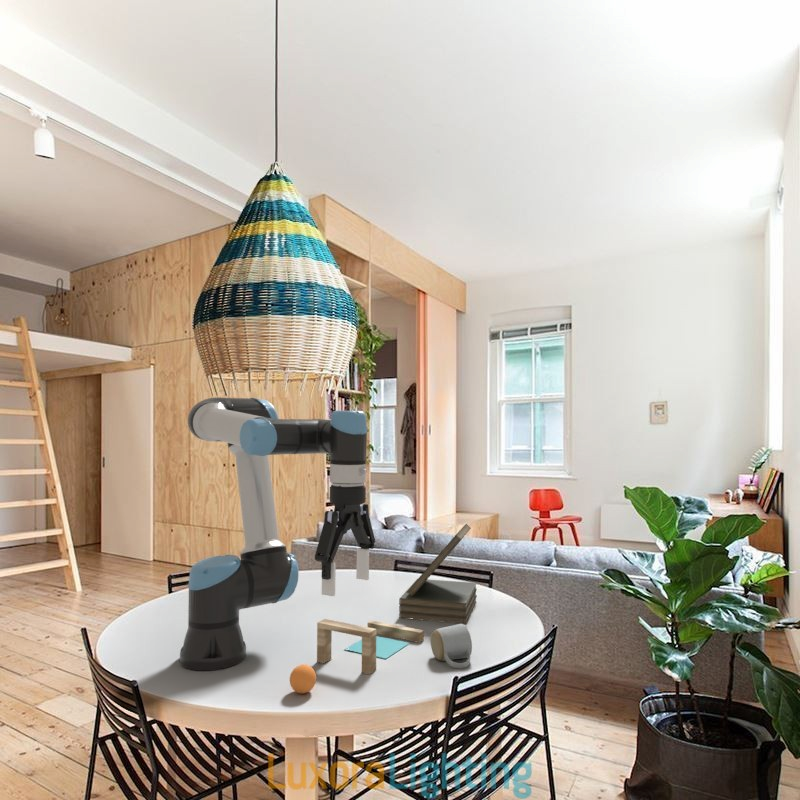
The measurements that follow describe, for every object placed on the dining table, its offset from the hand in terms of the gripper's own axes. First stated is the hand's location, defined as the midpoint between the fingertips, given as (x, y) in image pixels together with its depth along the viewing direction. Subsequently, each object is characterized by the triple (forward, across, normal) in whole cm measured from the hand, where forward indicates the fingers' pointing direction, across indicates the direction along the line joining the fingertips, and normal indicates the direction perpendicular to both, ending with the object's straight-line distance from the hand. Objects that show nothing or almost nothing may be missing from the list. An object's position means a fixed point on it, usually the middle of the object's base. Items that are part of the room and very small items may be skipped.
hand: (346, 586), depth 127 cm
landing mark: (+22, +27, +7) cm, 36 cm away
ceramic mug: (+22, +28, -14) cm, 38 cm away
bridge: (+22, +13, +8) cm, 27 cm away
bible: (+23, +63, +5) cm, 67 cm away
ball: (+20, -3, +8) cm, 21 cm away
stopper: (+22, +36, +6) cm, 43 cm away
